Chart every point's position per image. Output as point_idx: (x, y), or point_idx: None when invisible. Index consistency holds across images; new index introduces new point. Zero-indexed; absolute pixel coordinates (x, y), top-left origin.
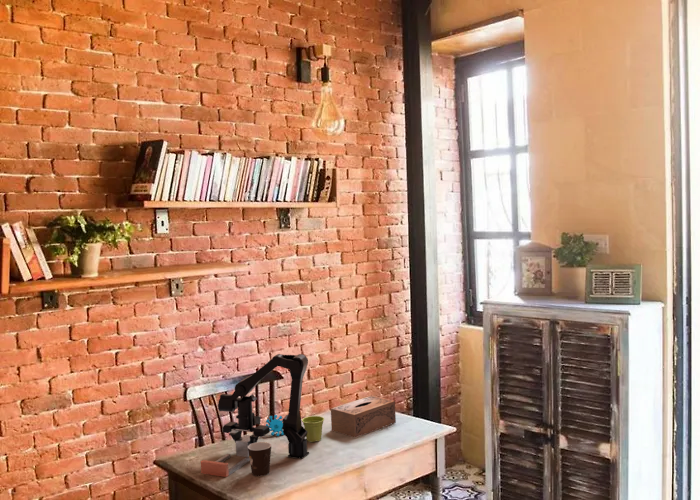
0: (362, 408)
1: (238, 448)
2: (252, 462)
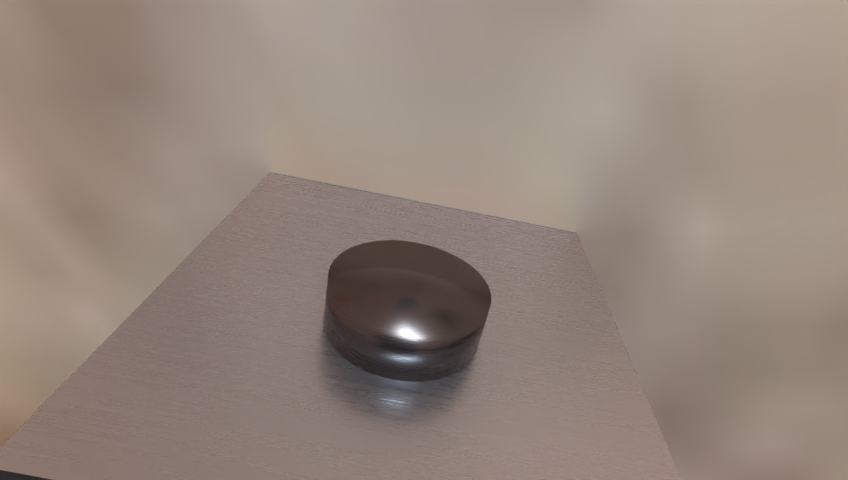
0: None
1: None
2: None
